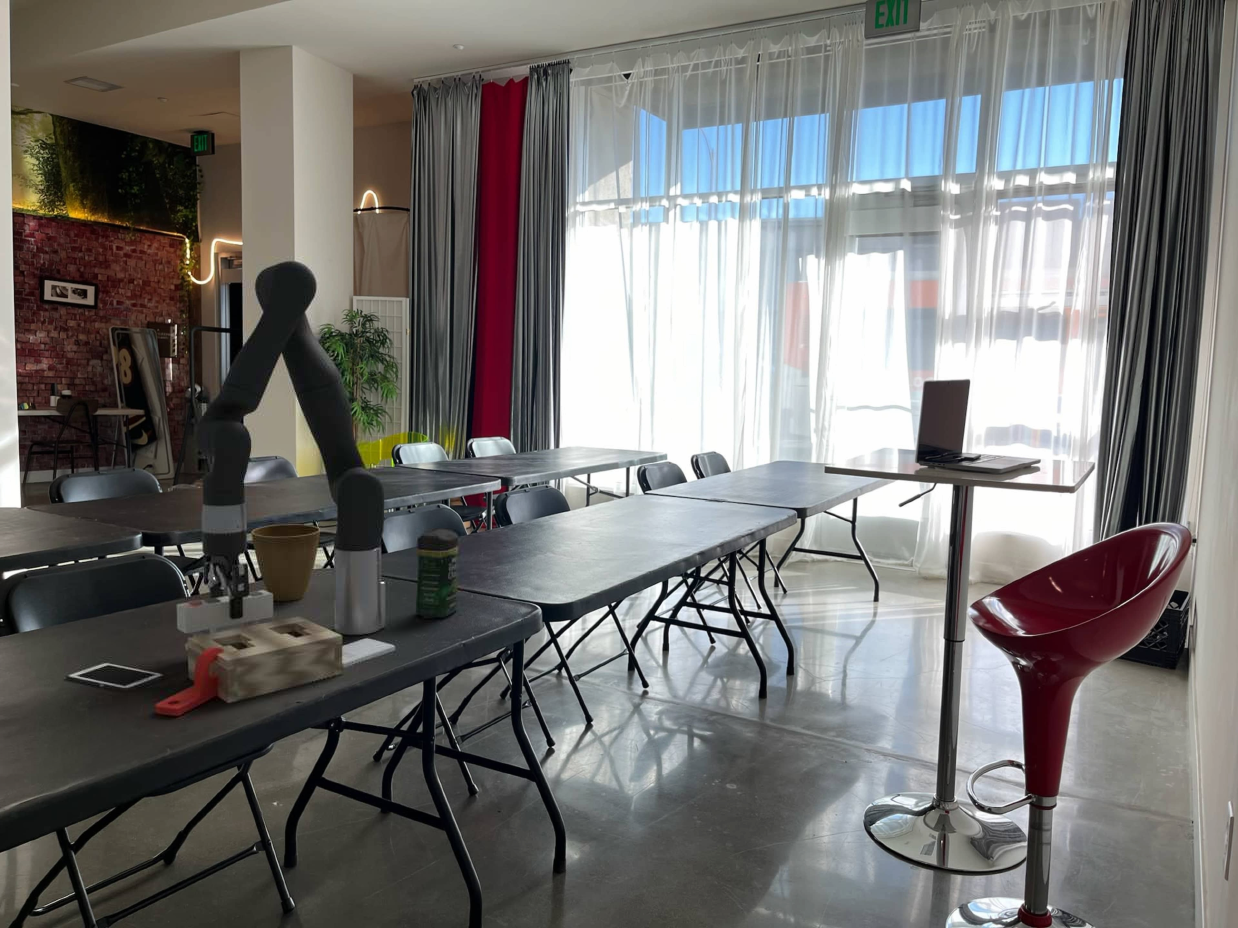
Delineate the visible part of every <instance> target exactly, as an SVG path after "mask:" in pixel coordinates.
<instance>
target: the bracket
mask: <svg viewBox="0 0 1238 928" xmlns="http://www.w3.org/2000/svg"><path fill="white" fill-rule="evenodd" d="M223 651H224V650H223V649H221V648H213V647H211V648H208V649H206V650H205V651H203V652H202V654H201V655H200V656H199V658H198V660H197V662H196V665H195V670H194V681H193V682H194V685H191V686H190V687H188V688H186V689H183V690H181V691H180V692H178V693H175V694H174V695H172V696H171V695H170V696H169V697H167V698H166V699H163V700H161V701H159V702H157V703H156V704H155V714H158V715H165V716H166V715H167V716H174V717H180V716H182V715H183V714H185V713H186V712H188V711H190V710H192V709H195V708H196V707H197V706H199V705H202V704H204V703H205V702H206V703H207V701H209V700H211V699H213V698H215V697H218V696H217V695H218V686H217V675H216V674H215V672H214V671H213V673H212V675H211V676H209V667H210V665H211V663H212V662H214V661H216V660H217V654H219V653H221V652H223Z"/></svg>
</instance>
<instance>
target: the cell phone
mask: <svg viewBox="0 0 1238 928" xmlns="http://www.w3.org/2000/svg"><path fill="white" fill-rule="evenodd" d="M164 678H165V675H164V673H161V672H156V671H151V670H147V669H142V668H138V667H137V668H136V667H131V666H127V665H121V664H118V663H111V662H103V663H98V664H95V665H93V666H88V667H85V668H82V669H79V670H77V671H74V672H71V673H68V674H67V675H66V680H68V681H72V682H75V683H76V682H77V683H80V684H86V685H91V686H95V687H101V688H105V689H109V690H114V691H118V692H124V693H125V692H127V693H128V692H133V691H135V690H137V689H139V688H143V687H146V686H149V685H151V684H153V683H156V682H159V681H161V680H164Z"/></svg>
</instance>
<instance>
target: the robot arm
mask: <svg viewBox="0 0 1238 928" xmlns="http://www.w3.org/2000/svg"><path fill="white" fill-rule="evenodd" d="M317 288H318V287H317V280H316V277H315V274H314V273H313V271H312V270H311V269H310V268H309V267H308V266H307V265H306V264H304V263H302V262H298V261H295V260H289V261H283V262H280V263H279V262H278V263H276V264H274V265H271V266H268V267H266V268H264V269H263V270H261V271H260V272H259V273H258V275H257V276H256V279H255V283H254V291H255V295H256V298H257V301H258V304H259V305H260V308H261V310H262V314H261V316H260V318H259V319H258V323H256V326H255V327H254V329H253V331H252V332H251V334H250V336H249V337H248V339H247V340H246V341H245V342H244V344H243V345H242V347H241V349H239V352H238V353H237V354H236V356H235V358H234V360H233V362H232V364H231V366H230V368H229V370H228V372H227V375H226V377H225V379H224V382H223V384H222V386H221V388H220V389H221V390H220V392H219V394H217V396H216V397H215V399H213V401H212V402H211V404H210V405H209V407H208V408H207V409H206V411H205V412H204V413H203V415H202V416H201V418H200V419H199V421H198V423H197V425H196V428H195V432H194V445H195V447H196V448H197V450H198V451H199V452H200V453H201V454H203V455H205V456H207V457H211V458H213V464H212V465H213V466H212V470H211V471H208V472H207V473H205V474H204V476H203V478H202V512H201V540H202V543H201V545H202V554H203V582H202V583H203V585H204V586H206V587H207V590H208V591H209V599H212V598H218V597H224V590H226V593H227V596H229V617H230V618H231V619H233V620H234V619H239V618H242V617H243V598H244V597H245V596H249V592H250V583H249V582H250V581H249V565H248V563H241V562H240V557H239V556H240V555H242V554H244V553H246V552H247V551H248V535H247V534H248V533H247V532H248V529H247V528H248V527H247V524H248V523H247V522H248V521H247V511H246V504H245V501H246V499H245V479H246V475H247V470H248V468H249V467H248V466H249V462H250V458H251V452H252V437H251V434H250V431H249V430H248V427H246V425H245V424H243V423H242V420H243V418H244V417H246V415H247V416H248V414H251V413H254V412H255V411H257V410H258V407H259V406H260V403H261V401H262V399H263V397H264V394H265V392H266V389H267V386H268V385H269V383H270V380H271V378H272V375H273V374H274V373H273V372H274V370H275V368H276V366H277V363H278V362H279V359H280V357H281V355H282V358H283V361H284V363H285V367H286V369H287V372H288V376H289V377H290V380H291V384H292V387H293V390H294V393H295V396H296V399H297V401H298V404H299V406H300V409H301V412H302V415H303V417H304V419H305V421H306V424H307V426H308V429H309V431H310V433H311V435H312V438H313V440H314V442H315V444H316V445H317V446H316V447H317V448H318V450H319V453H320V455H321V458H322V462H323V467H324V469H325V474H326V478H327V483H328V488H329V491H330V496H331V498H332V501H333V502H334V504H335V505H336V507H337V509H336V510H337V511H336V513H337V516H336V517H337V519H336V520H337V523H336V524H337V526H336V531H335V533H334V536H333V564H334V565H333V572H334V573H333V575H334V576H333V577H334V578H333V581H334V582H333V583H334V589H333V590H334V595H333V597H334V621H333V622H334V632H335V633H338V634H340V635H348V636H350V635H351V636H355V635H356V636H359V635H367V634H372V633H375V632H377V631H380V630H381V629H383V628H386V583H385V582H384V581H382V537H383V534H384V526H385V525H384V524H385V491H384V487H383V483H382V481H381V480H380V479H379V478H378V476H376V475H375V474H374V473H372V472H370V471H369V470H368V469H367V466H366V464H365V461H364V460H363V457H362V456H361V453H360V451H359V449H358V446H357V442H356V439H355V434H354V425H353V416H352V409H351V403H350V400H349V397H348V393H347V390H346V387H345V384H344V382H343V379H342V375H341V374H340V371H339V370H338V367H337V366H336V364H335V363H334V361H333V360H332V358H331V356H330V355H329V354H328V353H327V352H326V350H325V349H324V347H323V346H322V345H321V344H320V342H319V341H318V339H317V338H316V336H315V334H314V333H313V330H312V328H311V326H310V322H309V319H308V317H307V313H306V311H307V310H308V308H309V307H310V306H311V303H312V302H313V300H314V299H315V296H316V293H317Z"/></svg>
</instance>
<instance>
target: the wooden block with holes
mask: <svg viewBox="0 0 1238 928" xmlns="http://www.w3.org/2000/svg"><path fill="white" fill-rule="evenodd" d="M187 643H188V650H187V662H188V663H187V664H188V665H187V666H188V667H187V668H188V678H189V679H190V680H192V681H193V682H194V670H195V665H196V662H197V660H198V658H199V656H200V655H201V654H202V652H203V651H205V650H206V649H208V648H211V647H213V648H221V649H223V650H224V651H223V652H221V653H219V654H217V660H216V661H214V662H212V663H211V665H210V667H209V676H211V675H212V673H213V671H214V672H215V674H216V675H217V686H218V695H217V696H216V697H218V698H220V699H221V700H223V701H225V702H226V703H227V704H230V703H233V702H235V703H236V702H238V701H242V700H246V699H250V698H254V697H257V696H262V695H266V694H268V693H270V694H271V693H273V692H276V691H281V690H284V689H289V688H294V687H297V686H301V685H305V684H308V683H313V682H316V680H317V681H320V680H319V679H321V680H324V679H323V678H325V679H328V678H327V677H329V678H332V676H333V677H335V675H336V676H340V675H343V668H342V646H343V634H341V633H338V632H336V631H332V630H331V629H328V628H327V627H324V626H321V625H320V624H317V623H315V622H312V621H309V620H308V619H306V618H302V617H300V616H294V617H290V618H289V617H288V618H284V619H279V620H274V621H268V622H261V623H259V624H257V625H252V626H248V625H247V626H244V627H242V628H237V629H231V630H226V631H221V632H216V633H211V634H210V633H205V635H201V636H196V637H193V636H192V637H188V638H187ZM339 674H340V675H339ZM312 681H313V682H312Z"/></svg>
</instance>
